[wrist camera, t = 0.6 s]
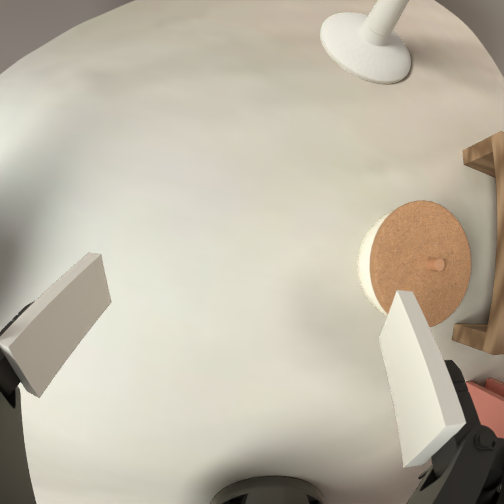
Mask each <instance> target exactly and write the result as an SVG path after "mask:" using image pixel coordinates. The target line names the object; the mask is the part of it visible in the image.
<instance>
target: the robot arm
mask: <svg viewBox="0 0 504 504" xmlns="http://www.w3.org/2000/svg"><path fill="white" fill-rule="evenodd" d="M110 304H111V298H110V294H109V289H108V285H107V280H106V276H105V271H104V266H103V261H102V256H101V254H96V253H90V252H89V253H88V254H86V255H85V256H84V257H83V258H82V259H81V260H79V261H78V262H77V263H76V264H75V265H74V266H73V267H71V268H70V269H69V270H68V271H67V272H66V273H65V274H64V275H62V276H61V277H60V278H59V279H58V280H57V281H56V282H55V283H54V284H53V285H51V286H50V287H49V288H48V289H47V290H46V291H45V292H44V293H43V294H42V295H41V296H40V297H39V298H38V299H37V300H36V301H34V302H32V303H30V304H28V305H27V306H25V307H24V308H23V309H22V310H21V311H20V312H19V313H18V315H16V316H15V317H14V318H13V319H12V321H10V322H9V323H8V324H7V325H6V326H5V327H4V328H3V330H2V331H1V332H0V504H36V501H35V497H34V492H33V488H32V484H31V479H30V474H29V469H28V463H27V457H26V451H25V443H24V435H23V426H22V414H21V396H20V389H19V387H18V384H19V383H20V382H21V383H22V384H23V386H24V387H25V389H26V390H27V391H28V392H29V393H31V394H33V395H35V396H37V397H38V398H40V397H41V395H42V394H43V392H44V391H45V389H46V388H47V386H48V385H49V384H50V382H51V381H52V379H53V378H54V377H55V375H56V374H57V372H58V371H59V370H60V368H61V367H62V365H63V364H64V363H65V361H66V360H67V359H68V357H69V356H70V355H71V353H72V352H73V351H74V349H75V348H76V347H77V345H78V344H79V343H80V341H81V340H82V339H83V338H84V336H85V335H86V334H87V332H88V331H89V330H90V329H91V327H92V326H93V325H94V323H95V322H96V321H97V320H98V318H99V317H100V316H101V315H102V313H103V312H104V311H105V310H106V308H107V307H108V306H109V305H110ZM379 343H380V347H381V351H382V355H383V359H384V363H385V368H386V372H387V377H388V381H389V386H390V390H391V395H392V400H393V405H394V411H395V416H396V422H397V427H398V433H399V439H400V446H401V453H402V460H403V467H404V468H405V467H413V466H420V465H423V464H424V463H426V462H427V461H428V460H429V459H430V458H432V464H433V465H432V466H431V467H430V468H429V469H427V470H426V471H425V472H424V473H422V474H421V475H420V476H419V477H418V478H419V479H421V478H423V477H424V478H423V479H422V481H421V482H420V484H419V486H418V487H417V489H416V490H415V492H414V493H413V495H412V496H411V498H410V499H409V500H408V502H407V503H406V504H504V438H498V437H497V436H496V435H495V433H494V431H493V430H492V429H490V428H489V427H487V426H484V425H481V423H480V420H479V417H478V414H477V411H476V409H475V406H474V403H473V400H472V398H471V395H470V392H468V387H467V385H466V383H465V380H464V377H463V375H462V372H461V370H460V369H459V368H458V366H457V365H456V364H455V363H454V362H453V361H452V360H443V357H442V355H441V352H440V350H439V348H438V345H437V343H436V341H435V338H434V336H433V334H432V332H431V329H430V327H429V325H428V323H427V321H426V318H425V316H424V314H423V312H422V310H421V308H420V306H419V304H418V302H417V300H416V298H415V296H414V294H413V292H412V291H401V290H397V291H396V294H395V297H394V300H393V302H392V305H391V308H390V311H389V313H388V316H387V319H386V321H385V324H384V326H383V329H382V331H381V334H380V336H379ZM500 488H501V490H500ZM210 504H325V501H324V498H323V496H322V494H321V492H320V491H319V490H318V489H317V488H316V487H315V486H313V485H311V484H310V483H308V482H305V481H303V480H299V479H295V478H290V477H281V476H267V477H257V478H252V479H247V480H243V481H240V482H237V483H234V484H232V485H230V486H228V487H226V488H224V489H223V490H221V491H220V492H219V493H217V494H216V495H215V497H214V498H213V499H212V501H211V503H210Z"/></svg>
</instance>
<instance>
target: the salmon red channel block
mask: <svg viewBox="0 0 504 504" xmlns="http://www.w3.org/2000/svg"><path fill="white" fill-rule="evenodd" d="M466 385H467V387H468V392H470V395H471V398H472V400H473V403H474V406H475V409H476V411H477V414H478V417H479V420H480V423H481V425H484V426H487V427H489V428H490V429H492V430H493V431H494V433H495V435H496V436H497V437H498V438H504V383H502V382H500V381H497V380H495V379H493V378H488V379H487V380H486V383H485V386H484V387H482V386H480V385H478V384H476V383H474V382H472V381H470V382H466Z"/></svg>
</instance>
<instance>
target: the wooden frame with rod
mask: <svg viewBox="0 0 504 504" xmlns="http://www.w3.org/2000/svg"><path fill="white" fill-rule="evenodd" d="M463 160H464V165H466V166H469V167H471V168H474V169H476V170H478V171H481V172H483V173H485V174H488V175H490V176H492V177H495V178H496V191H497V252H496V267H495V278H494V287H493V295H492V303H491V309H490V315H489V321H488V324H455V326H454V331H453V336H452V340H453V341H456V342H459V343H462V344H464V345H467V346H470V347H473V348H476V349H478V350H481V351H484V352H487V353H490V354H492V355H499V354H504V132H502V131H500V132H498V133H496V134H494V135H492V136H490V137H488V138H487V139H485V140H483V141H481V142H479V143H477V144H475V145H473V146H471V147H469V148H467V149H465V150H463Z"/></svg>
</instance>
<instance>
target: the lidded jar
mask: <svg viewBox="0 0 504 504" xmlns="http://www.w3.org/2000/svg"><path fill="white" fill-rule="evenodd" d="M357 268H358V276H359V281H360V284H361V287H362V289H363V291H364V293H365V295H366V297H367V298H368V299H369V300H370V302H371V303H372V304H373V305H374V306H375V307H376V308H377V309H378V310H379V311H380V312H382V313H383V314H385V315H386V316H388V313H389V311H390V308H391V305H392V302H393V300H394V297H395V294H396V291H397V290H401V291H412V292H413V294H414V296H415V298H416V300H417V302H418V304H419V306H420V308H421V310H422V312H423V314H424V316H425V318H426V321H427V323H428V325H429V327H432V326H435V325H437V324H439V323H441V322H443V321H444V320H445V319H447V318H448V317H449V316H450V315H451V314H452V313H453V312H454V311H455V310H456V308H457V307H458V306H459V304H460V303H461V301H462V299H463V297H464V295H465V292H466V290H467V287H468V283H469V279H470V273H471V254H470V248H469V244H468V240H467V237H466V235H465V232H464V230H463V228H462V227H461V225H460V223H459V222H458V220H457V219H456V218H455V217H454V216H453V214H452V213H450V212H449V211H448V210H447V209H446V208H444V207H442V206H441V205H439V204H436V203H434V202H430V201H414V202H410V203H407V204H405V205H403V206H401V207H398V208H397V209H395V210H393V211H391V212H389V213H387V214H386V215H384V216H383V217H381V218H380V219H379V220H377V221H376V223H375V224H374V225H373V226H372V227H371V228H370V229H369V230H368V232H367V233H366V235H365V237H364V239H363V241H362V243H361V246H360V249H359V254H358V263H357Z"/></svg>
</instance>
